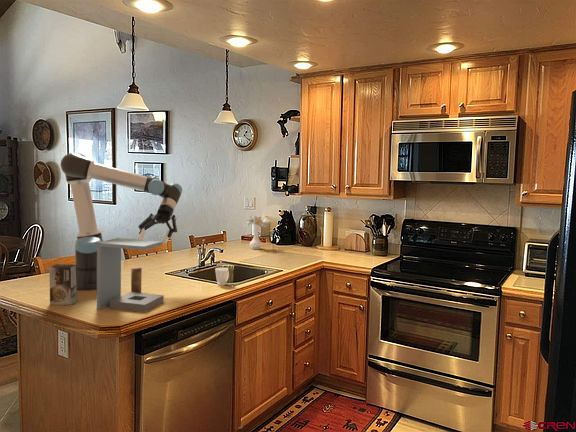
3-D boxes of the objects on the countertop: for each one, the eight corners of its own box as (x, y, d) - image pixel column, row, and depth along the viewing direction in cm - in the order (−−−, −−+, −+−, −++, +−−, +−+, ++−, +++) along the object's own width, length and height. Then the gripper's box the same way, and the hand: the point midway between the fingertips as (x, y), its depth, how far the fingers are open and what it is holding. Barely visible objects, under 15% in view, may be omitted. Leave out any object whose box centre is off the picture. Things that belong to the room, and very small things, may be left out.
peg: (129, 294, 218) (129, 268, 217) (134, 292, 223) (134, 267, 222) (138, 295, 217) (138, 269, 216) (143, 293, 222) (143, 267, 221)
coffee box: (77, 301, 204) (77, 264, 203) (71, 305, 198) (71, 267, 197) (56, 300, 204) (55, 263, 203) (49, 304, 198) (48, 266, 196)
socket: (109, 307, 196) (109, 300, 196) (130, 298, 212) (130, 291, 212) (144, 311, 193) (144, 304, 193) (163, 301, 208) (163, 295, 208)
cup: (211, 284, 244) (212, 269, 243) (222, 280, 253) (222, 266, 252) (223, 286, 241) (223, 270, 240) (233, 282, 250) (234, 267, 249)
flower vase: (269, 248, 367) (270, 216, 365) (255, 250, 352) (256, 217, 350) (256, 246, 374) (257, 214, 372) (241, 248, 359) (242, 216, 357)
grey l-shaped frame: (96, 308, 194) (97, 242, 192) (117, 299, 209) (118, 238, 206) (143, 314, 190) (144, 246, 187) (161, 304, 204) (162, 241, 202)
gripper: (191, 214, 244) (177, 247, 231) (147, 212, 250) (131, 244, 237) (187, 204, 239) (173, 238, 225) (142, 202, 244) (126, 234, 231)
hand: (151, 241), depth 231 cm, fingers open, 13 cm apart
